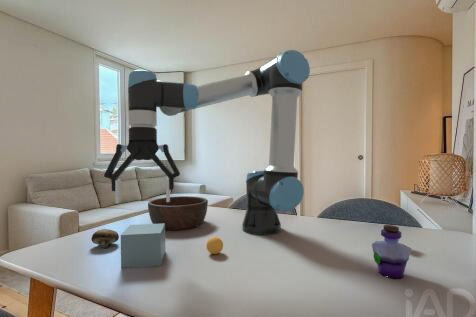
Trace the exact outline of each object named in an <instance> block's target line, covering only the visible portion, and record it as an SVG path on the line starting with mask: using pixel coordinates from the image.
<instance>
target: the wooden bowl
mask: <svg viewBox="0 0 476 317" xmlns="http://www.w3.org/2000/svg"><path fill="white" fill-rule="evenodd" d="M208 204H209V200H208V199H207V198H205V197H202V196H189V195H187V196H184V195H181V196H180V195H177V196H176V195H175V196H170V201H169V202H166V197H160V198H154V199H152V200H150V201H148V203H147V208H148V216H149V218H150V221H151V224H162V223H165V231H183V230H184V231H185V230H190V229H194V228H197V227H200V226H201V225H202V224H203V223H204V220H205V219H206V216H207V212H208V206H209V205H208Z"/></svg>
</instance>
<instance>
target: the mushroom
mask: <svg viewBox="0 0 476 317" xmlns="http://www.w3.org/2000/svg"><path fill="white" fill-rule="evenodd" d="M119 238H120V236H119V233H118V232H117V231H116V230H113V229H107V228H103V229H98V230H96V231H94V232H93V234H92V235H91V239H90V240H91V242H92V243H93V244H95V245H98V246H99V247H101V248H104V249H107V248H109V245H111V244H114V243H116V242H118V241H119Z"/></svg>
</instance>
